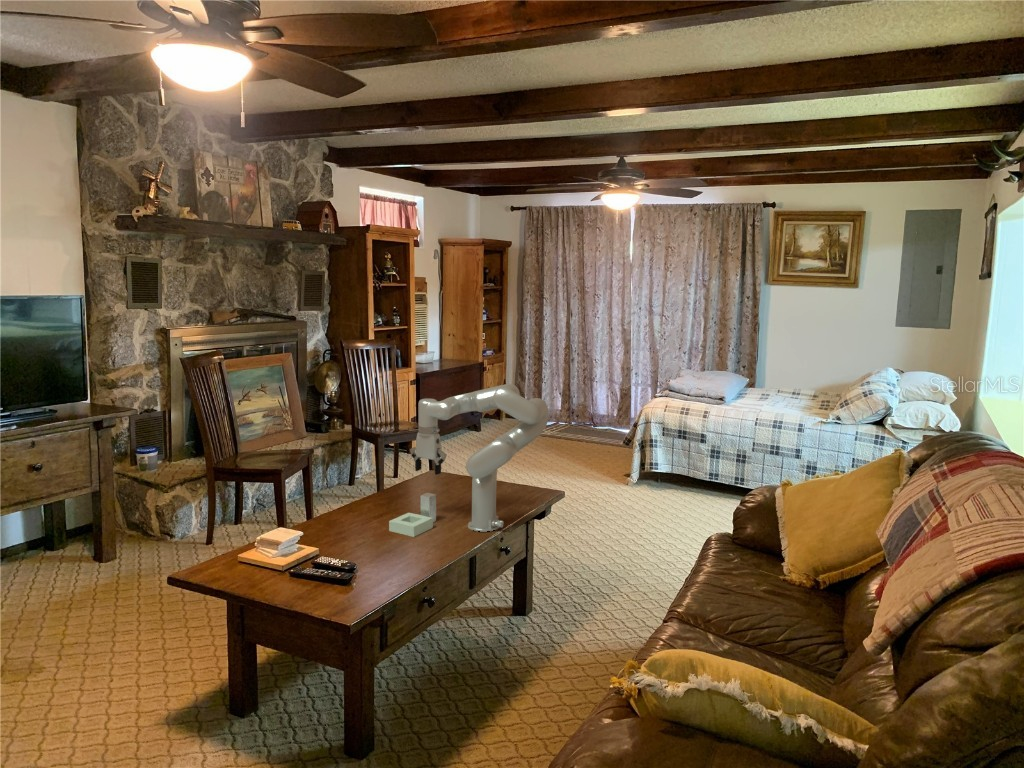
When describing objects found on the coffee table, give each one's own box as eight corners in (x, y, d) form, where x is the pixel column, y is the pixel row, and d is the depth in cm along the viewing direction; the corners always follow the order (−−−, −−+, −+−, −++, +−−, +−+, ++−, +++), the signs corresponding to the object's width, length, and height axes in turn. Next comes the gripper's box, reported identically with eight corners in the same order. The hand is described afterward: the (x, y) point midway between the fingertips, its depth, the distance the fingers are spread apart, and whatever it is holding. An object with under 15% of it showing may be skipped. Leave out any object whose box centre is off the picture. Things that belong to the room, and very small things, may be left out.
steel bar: (435, 520, 290) (435, 494, 288) (429, 523, 286) (429, 497, 284) (427, 518, 292) (427, 492, 290) (420, 521, 288) (420, 495, 287)
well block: (432, 527, 282) (432, 517, 281) (413, 536, 272) (413, 526, 271) (408, 522, 288) (408, 512, 287) (389, 530, 278) (389, 521, 277)
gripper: (451, 431, 283) (451, 473, 285) (416, 425, 291) (416, 466, 294) (440, 434, 276) (440, 477, 279) (404, 429, 285) (405, 470, 287)
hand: (428, 472), depth 286 cm, fingers open, 9 cm apart
